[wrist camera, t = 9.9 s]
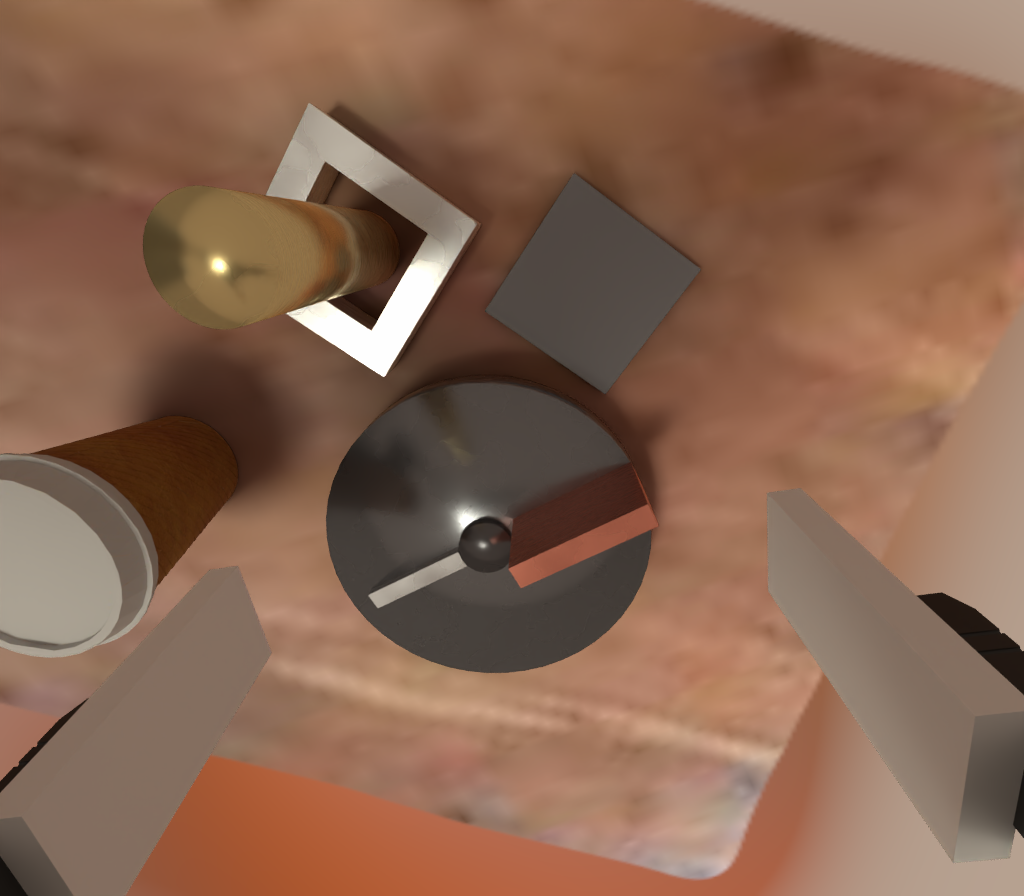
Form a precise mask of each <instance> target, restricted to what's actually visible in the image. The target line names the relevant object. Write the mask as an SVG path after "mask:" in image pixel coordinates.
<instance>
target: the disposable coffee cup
mask: <svg viewBox="0 0 1024 896" xmlns="http://www.w3.org/2000/svg"><path fill="white" fill-rule="evenodd" d="M237 480H238V468H237V463H236V460H235V456H234V454H233V452H232V450H231V448H230V447H229V445H228V444H227V443H226V442H225V440H224V439H223V438H222V437H221V436H220V435H219V434H218V433H217V432H216V431H215V430H214V429H212V428H211V427H209V426H208V425H206V424H204V423H202V422H200V421H198V420H195V419H192V418H190V417H182V416H167V417H163V418H160V419H156V420H153V421H149V422H145V423H141V424H138V425H133V426H130V427H126V428H123V429H118V430H115V431H112V432H108V433H104V434H101V435H97V436H94V437H90V438H86V439H83V440H79V441H75V442H72V443H68V444H64V445H61V446H57V447H53V448H50V449H46V450H42V451H38V452H35V453H31V454H25V453H24V454H12V453H4V454H0V647H3V648H6V649H8V650H11V651H14V652H17V653H21V654H26V655H30V656H38V657H47V658H48V657H65V656H70V655H75V654H79V653H82V652H84V651H86V650H89V649H91V648H93V647H95V646H97V645H101V644H104V643H108V642H111V641H113V640H116V639H118V638H119V637H121V636H123V635H124V634H126V633H128V632H129V631H130V630H131V629H132V628H133V627H134V626H135V625H136V624H137V623H138V622H139V621H140V620H141V618H142V617H143V616H144V614H145V613H146V612H147V609H148V607H149V605H150V602H151V600H152V598H153V595H154V591H155V589H156V587H157V585H158V584H160V583H161V581H162V580H163V578H164V577H165V576H167V574H168V573H169V571H170V570H171V569H172V568H173V567H174V565H175V564H176V562H178V560H179V559H180V558H181V557H182V556H183V554H185V552H186V551H187V549H188V548H189V547H190V546H191V544H192V543H193V541H195V540H196V538H197V537H198V535H199V534H201V533H202V531H203V529H204V528H205V527H206V526H207V525H208V523H209V522H210V521H211V520H212V518H213V517H215V515H216V514H217V512H218V511H219V510H220V509H221V508H222V506H223V505H224V504H225V503H226V501H228V499H229V498H230V497H231V496H232V494H233V493H234V490H235V488H236V485H237Z"/></svg>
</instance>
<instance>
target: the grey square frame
mask: <svg viewBox="0 0 1024 896" xmlns="http://www.w3.org/2000/svg"><path fill="white" fill-rule="evenodd" d="M339 172H341V173H343V174H344V175H345V176H347V177H348V178H350V179H351V180H352V181H354V182H355V183H357V184H358V185H360V186H361V187H362V188H364V189H365V190H367V191H368V192H370V193H371V194H372V195H374V196H375V197H377V198H378V199H380V200H381V201H382V202H384V203H385V204H387V205H388V206H390V207H391V208H392V209H394V210H395V211H397V212H398V213H399V214H401V215H402V216H404V217H405V218H407V219H408V220H409V221H411V222H412V223H414V224H415V225H417V226H418V227H419V228H421V229H422V230H424V231H425V232H427V233H428V235H427V236H426V238H425V240H424V242H423V243H422V245H421V247H420V248H419V250H418V252H417V254H416V255H415V257H414V259H413V261H412V262H411V264H410V266H409V267H408V269H407V271H406V273H405V274H404V276H403V278H402V279H401V281H400V283H399V285H398V286H397V288H396V290H395V292H394V293H393V295H392V297H391V298H390V300H389V302H388V304H387V305H386V307H385V309H384V310H383V312H382V314H381V316H380V317H379V319H378V320H376V319H375V318H373V317H372V316H370V315H369V314H367V313H365V312H364V311H362V310H361V309H359V308H358V307H356V306H355V305H353V304H352V303H350V302H349V301H347V300H346V299H344V298H343V297H341V296H340V297H337V298H334V299H330V300H327V301H324V302H321V303H317V304H314V305H311V306H307V307H304V308H301V309H298V310H294V311H291V312H288V313H286V314H288V315H289V316H291V317H292V318H294V319H295V320H297V321H298V322H300V323H301V324H303V325H305V326H306V327H308V328H309V329H311V330H312V331H314V332H315V333H317V334H318V335H320V336H322V337H323V338H325V339H326V340H328V341H329V342H331V343H332V344H334V345H335V346H337V347H339V348H340V349H342V350H343V351H345V352H346V353H348V354H349V355H351V356H352V357H354V358H356V359H357V360H359V361H360V362H362V363H363V364H365V365H366V366H368V367H369V368H371V369H373V370H374V371H376V372H377V373H379V374H380V375H382V376H383V377H384V376H386V375H387V374H388V373H389V372H390V371H391V370H392V369H393V368H395V366H396V365H397V363H398V361H399V360H400V358H401V356H402V355H403V353H404V351H405V350H406V348H407V347H408V345H409V343H410V342H411V340H412V338H413V337H414V335H415V333H416V332H417V330H418V329H419V327H420V325H421V324H422V322H423V320H424V319H425V317H426V315H427V314H428V312H429V310H430V309H431V307H432V306H433V304H434V302H435V301H436V299H437V297H438V296H439V294H440V292H441V291H442V289H443V288H444V286H445V284H446V283H447V281H448V279H449V278H450V276H451V274H452V273H453V271H454V269H455V268H456V266H457V265H458V263H459V261H460V260H461V258H462V256H463V255H464V253H465V251H466V250H467V248H468V247H469V245H470V243H471V242H472V240H473V238H474V237H475V235H476V233H477V232H478V230H479V228H480V227H481V225H482V224H481V223H479V222H478V221H476V220H475V219H474V218H472V217H471V216H469V215H468V214H467V213H465V212H464V211H463V210H461V209H460V208H458V207H457V206H456V205H454V204H453V203H451V202H450V201H449V200H447V199H446V198H444V197H443V196H442V195H440V194H439V193H437V192H436V191H435V190H433V189H432V188H430V187H429V186H428V185H426V184H425V183H424V182H422V181H421V180H419V179H418V178H417V177H415V176H414V175H412V174H411V173H410V172H408V171H407V170H405V169H404V168H403V167H401V166H400V165H398V164H397V163H396V162H394V161H393V160H391V159H390V158H389V157H387V156H386V155H385V154H383V153H382V152H380V151H379V150H378V149H376V148H375V147H373V146H372V145H371V144H369V143H368V142H366V141H365V140H364V139H362V138H361V137H359V136H358V135H357V134H355V133H354V132H352V131H351V130H350V129H348V128H347V127H346V126H344V125H343V124H341V123H340V122H339V121H337V120H336V119H334V118H333V117H332V116H330V115H329V114H327V113H326V112H324V111H322V110H321V109H319V108H317V107H315V106H314V105H312V104H310V103H309V104H308V106H307V108H306V110H305V112H304V115H303V117H302V119H301V121H300V123H299V125H298V127H297V129H296V132H295V134H294V136H293V138H292V140H291V142H290V144H289V146H288V149H287V151H286V153H285V155H284V157H283V159H282V161H281V163H280V166H279V168H278V170H277V172H276V174H275V176H274V178H273V181H272V183H271V185H270V187H269V189H268V191H267V193H266V195H267V196H274V197H280V198H287V199H293V200H300V201H306V202H313V203H319V204H324V202H325V200H326V198H327V196H328V194H329V192H330V190H331V188H332V186H333V184H334V182H335V180H336V178H337V176H338V174H339Z"/></svg>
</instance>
